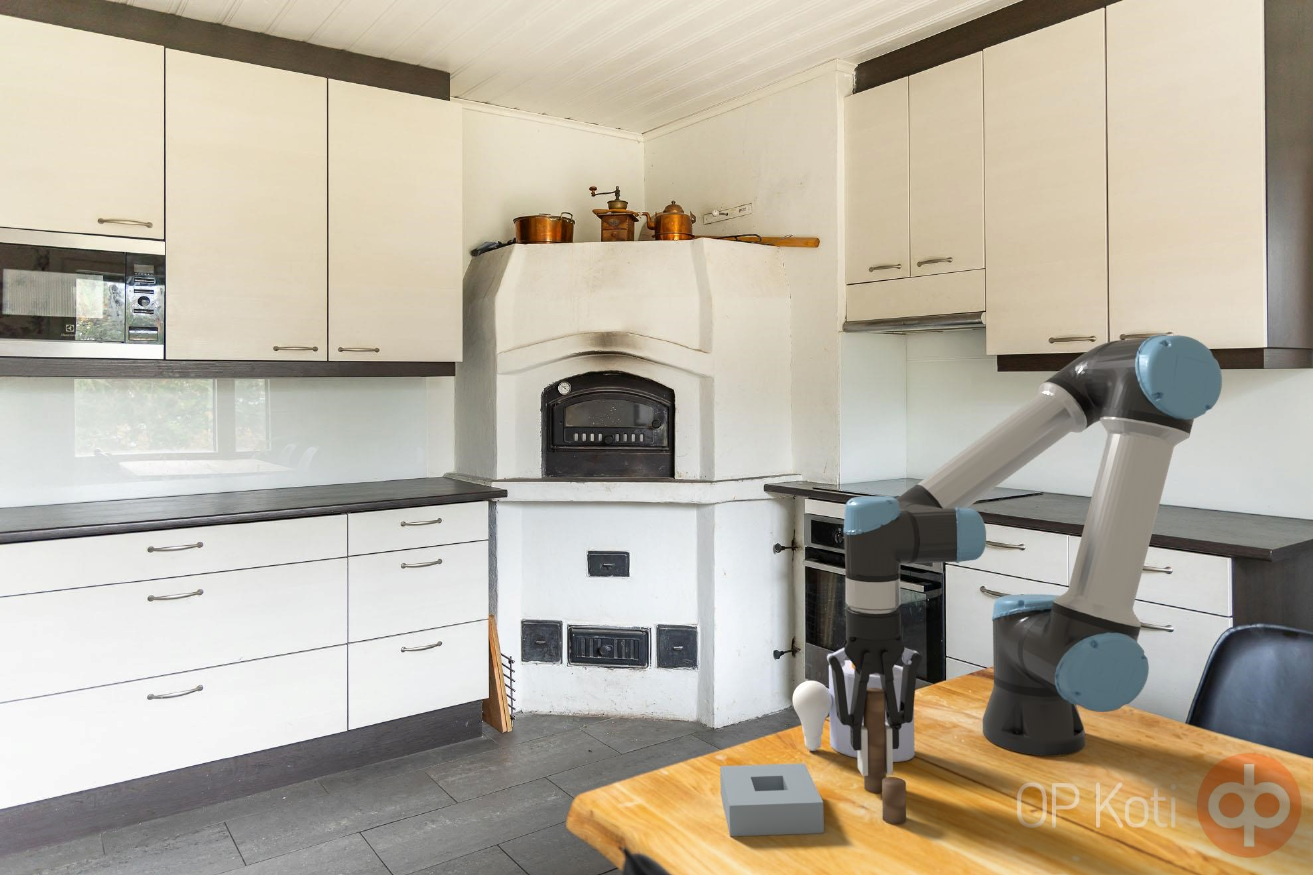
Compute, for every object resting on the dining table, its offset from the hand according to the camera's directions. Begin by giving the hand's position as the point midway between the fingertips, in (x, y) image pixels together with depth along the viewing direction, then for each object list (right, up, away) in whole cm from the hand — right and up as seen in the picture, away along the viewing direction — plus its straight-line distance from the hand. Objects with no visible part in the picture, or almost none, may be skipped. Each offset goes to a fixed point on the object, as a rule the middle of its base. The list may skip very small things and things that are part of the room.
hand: (875, 770), depth 123 cm
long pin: (0, -3, 0) cm, 3 cm away
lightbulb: (-6, -2, +14) cm, 15 cm away
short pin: (0, -3, -9) cm, 9 cm away
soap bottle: (+3, -2, +13) cm, 14 cm away
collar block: (-16, -3, -6) cm, 17 cm away
